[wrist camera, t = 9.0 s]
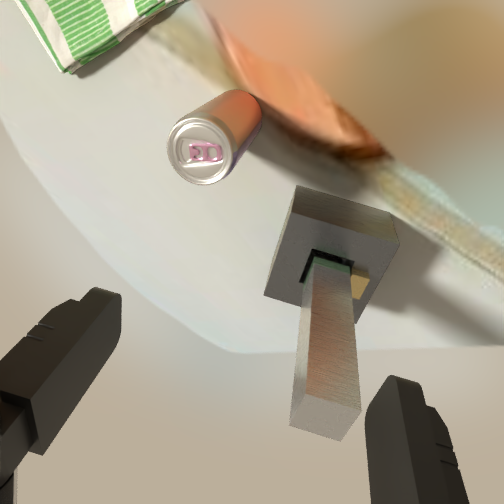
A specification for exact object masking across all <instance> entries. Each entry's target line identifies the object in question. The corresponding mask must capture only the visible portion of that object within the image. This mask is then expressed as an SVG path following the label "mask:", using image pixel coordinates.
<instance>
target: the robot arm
mask: <svg viewBox="0 0 504 504" xmlns="http://www.w3.org/2000/svg"><path fill="white" fill-rule="evenodd" d="M121 303H122V298H121V295H120V294H118V293H114V292H111V291H108V290H104V289H101V288H97V287H94V288H92V289H91V290H89V292H88V293H87V294H86V295H85V296H84V297H83V298H82V299H81V300H80V301H75V300H72V299H70V300H68V301H66V302H64V303H62V304H60V305H58V306H56V307H55V308H53V309H51V310H50V311H49V312H48V313H47V314H46V315H45V316H44V317H43V318H42V319H41V320H40V321H39V323H38V325H35V326H34V327H33V328H32V329H31V330H30V331H29V332H28V333H27V336H26V337H23V338H22V339H21V340H20V341H19V342H18V343H17V344H16V345H15V346H14V347H13V348H12V349H11V350H10V351H9V352H8V353H7V354H6V355H5V356H4V357H3V358H2V359H1V360H0V504H17V466H18V465H19V463H20V462H21V461H22V459H23V458H24V456H25V455H26V454H27V452H28V451H30V452H33V453H36V454H39V455H43V454H44V453H45V452H46V450H47V449H48V447H49V446H50V444H51V443H52V441H53V440H54V438H55V437H56V435H57V434H58V432H59V431H60V429H61V428H62V426H63V425H64V423H65V422H66V421H67V419H68V418H69V416H70V414H71V413H72V412H73V410H74V409H75V407H76V406H77V404H78V403H79V401H80V400H81V398H82V396H83V395H84V394H85V392H86V391H87V389H88V388H89V386H90V385H91V384H92V382H93V380H94V379H95V378H96V376H97V374H98V373H99V372H100V370H101V369H102V367H103V366H104V364H105V363H106V361H107V360H108V358H109V357H110V355H111V354H112V352H113V351H114V349H115V347H116V345H117V343H118V341H119V338H120V333H121V307H122V304H121ZM365 436H366V448H367V459H368V471H369V482H370V495H371V504H469V500H468V497H467V493H466V490H465V487H464V483H463V480H462V476H461V473H460V470H458V463H457V459H456V456H455V453H454V452H453V445H452V442H451V439H450V435H449V432H448V428H447V426H446V425H445V423H444V422H443V420H442V419H441V417H440V415H439V414H438V412H437V411H436V409H435V408H433V407H430V406H427V405H426V403H425V399H424V395H423V391H422V387H421V386H420V384H419V383H417V382H414V381H410V380H407V379H404V378H400V377H397V376H394V375H390V376H388V377H387V379H386V380H385V382H384V383H383V385H382V386H381V388H380V389H379V391H378V392H377V394H376V396H375V397H374V398H373V400H372V401H371V403H370V404H369V407H368V409H367V412H366V416H365Z"/></svg>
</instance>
